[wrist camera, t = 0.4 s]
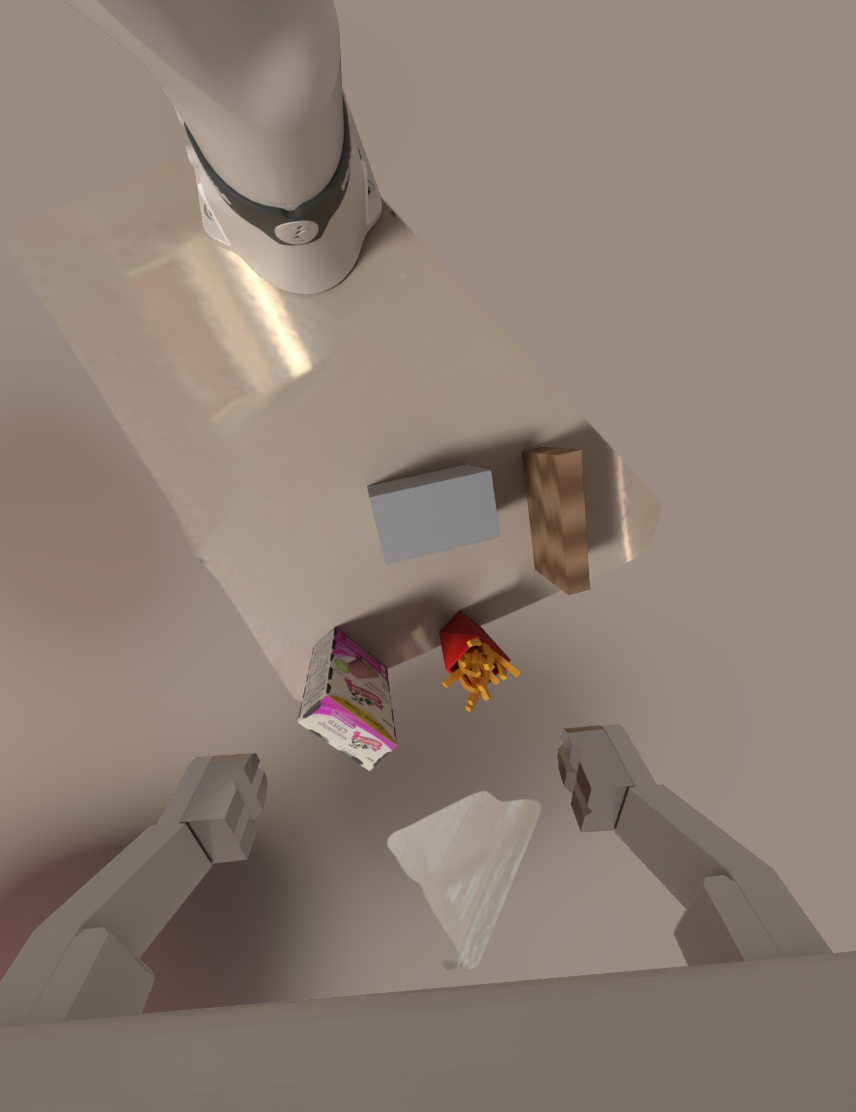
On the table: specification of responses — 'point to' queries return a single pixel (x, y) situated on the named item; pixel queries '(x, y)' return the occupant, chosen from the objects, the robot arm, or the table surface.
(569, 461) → the walnut board
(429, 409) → the table surface
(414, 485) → the slate block
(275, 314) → the table surface
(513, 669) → the french fries
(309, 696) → the candy bar box
